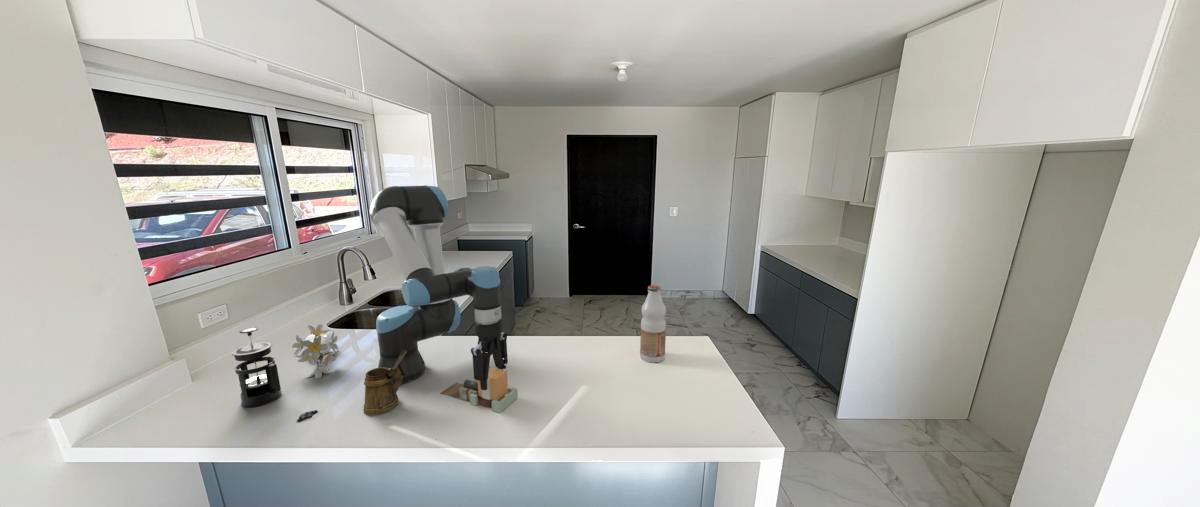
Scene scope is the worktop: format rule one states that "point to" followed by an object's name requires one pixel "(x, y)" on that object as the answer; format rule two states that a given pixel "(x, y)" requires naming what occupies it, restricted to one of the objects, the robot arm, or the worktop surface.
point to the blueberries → (306, 415)
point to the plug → (492, 384)
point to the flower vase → (317, 349)
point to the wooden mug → (382, 388)
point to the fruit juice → (653, 326)
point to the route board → (467, 394)
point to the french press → (258, 382)
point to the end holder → (498, 405)
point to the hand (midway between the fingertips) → (493, 393)
